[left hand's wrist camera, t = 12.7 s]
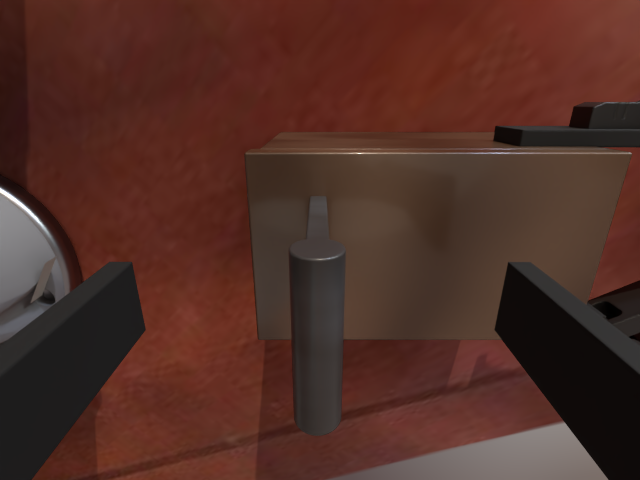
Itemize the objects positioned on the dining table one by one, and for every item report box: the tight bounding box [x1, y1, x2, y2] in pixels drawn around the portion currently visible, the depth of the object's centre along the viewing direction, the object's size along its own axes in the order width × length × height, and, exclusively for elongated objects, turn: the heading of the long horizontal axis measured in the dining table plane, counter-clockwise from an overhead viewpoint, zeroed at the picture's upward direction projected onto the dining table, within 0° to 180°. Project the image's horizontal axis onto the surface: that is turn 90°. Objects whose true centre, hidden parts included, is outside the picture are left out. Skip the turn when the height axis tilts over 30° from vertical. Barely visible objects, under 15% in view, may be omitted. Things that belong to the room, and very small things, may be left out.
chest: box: [261, 132, 608, 149], centre depth 22 cm, size 15×9×9 cm, turn 90°
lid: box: [244, 149, 632, 436], centre depth 14 cm, size 16×9×8 cm, turn 90°
